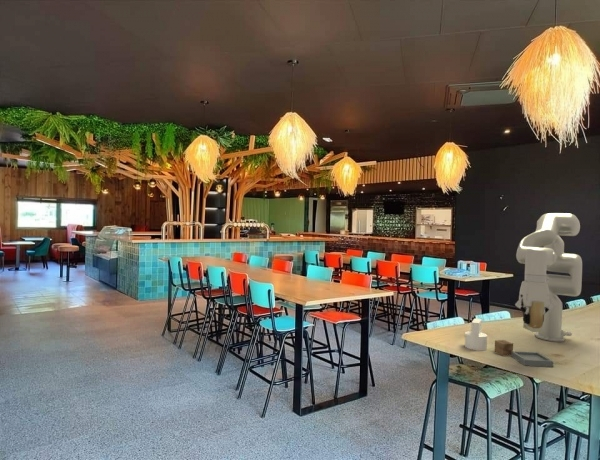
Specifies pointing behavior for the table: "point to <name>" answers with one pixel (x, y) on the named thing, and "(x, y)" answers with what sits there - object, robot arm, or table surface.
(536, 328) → the skincare box
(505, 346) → the walnut block
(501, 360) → the table surface
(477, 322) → the base with upright slab
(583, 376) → the table surface
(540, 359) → the slate tray
